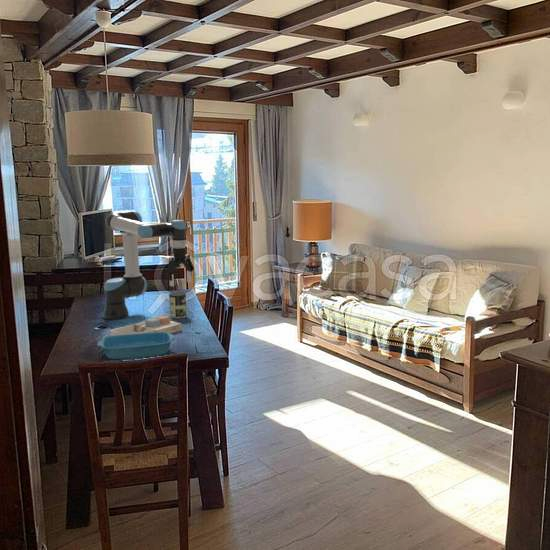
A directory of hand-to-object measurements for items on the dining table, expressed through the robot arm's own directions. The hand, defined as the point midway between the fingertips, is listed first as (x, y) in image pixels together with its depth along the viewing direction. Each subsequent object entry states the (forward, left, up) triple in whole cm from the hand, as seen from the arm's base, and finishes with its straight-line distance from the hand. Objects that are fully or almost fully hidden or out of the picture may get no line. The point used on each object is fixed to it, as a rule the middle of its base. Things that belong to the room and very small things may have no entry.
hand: (180, 284), depth 324 cm
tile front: (-2, -20, -20) cm, 28 cm away
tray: (-2, -34, -24) cm, 42 cm away
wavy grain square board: (-2, -17, -24) cm, 30 cm away
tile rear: (-2, -13, -20) cm, 24 cm away
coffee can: (-18, +13, -24) cm, 33 cm away
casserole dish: (+21, -49, -25) cm, 59 cm away
